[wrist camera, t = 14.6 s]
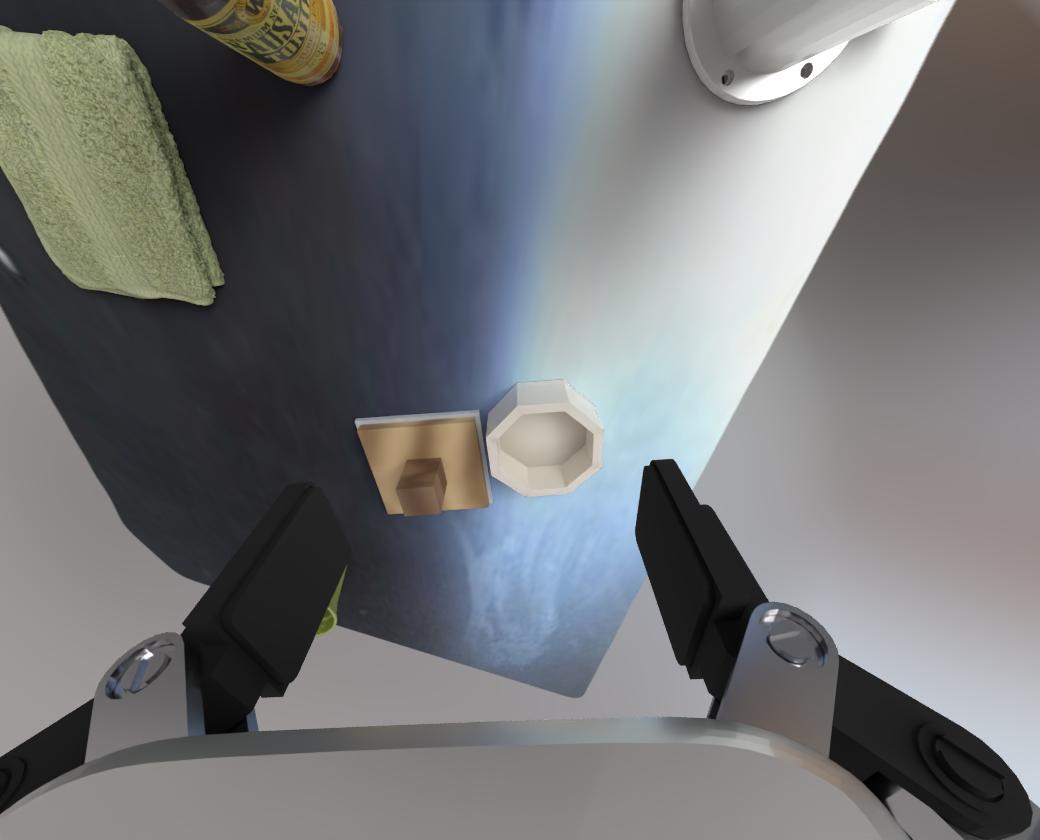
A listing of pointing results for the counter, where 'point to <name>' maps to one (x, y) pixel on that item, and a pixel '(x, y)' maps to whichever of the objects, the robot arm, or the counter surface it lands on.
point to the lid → (426, 465)
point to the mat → (438, 416)
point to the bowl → (544, 438)
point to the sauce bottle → (273, 33)
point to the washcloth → (101, 168)
